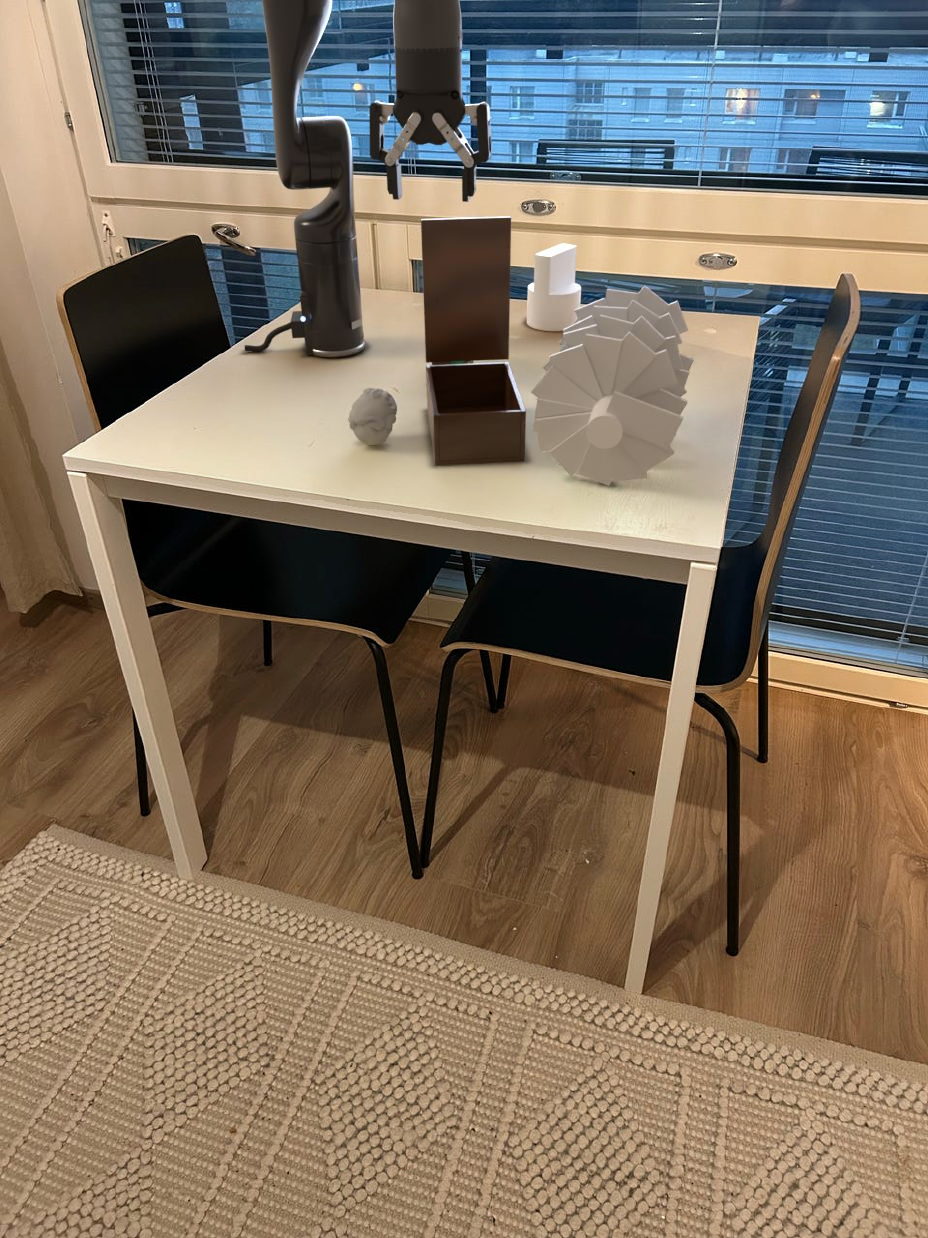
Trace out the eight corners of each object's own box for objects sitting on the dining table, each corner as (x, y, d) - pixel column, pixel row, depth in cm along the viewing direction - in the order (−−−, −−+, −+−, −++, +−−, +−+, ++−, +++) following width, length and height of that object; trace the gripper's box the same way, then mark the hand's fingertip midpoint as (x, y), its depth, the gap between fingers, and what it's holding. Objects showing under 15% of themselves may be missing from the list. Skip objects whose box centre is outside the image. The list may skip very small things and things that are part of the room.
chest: (524, 461, 116) (526, 411, 112) (434, 465, 115) (433, 415, 112) (507, 407, 130) (508, 361, 126) (427, 411, 129) (425, 364, 126)
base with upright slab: (544, 311, 166) (547, 240, 159) (588, 320, 161) (593, 247, 154) (516, 324, 160) (518, 251, 153) (561, 334, 155) (565, 259, 148)
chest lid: (511, 217, 115) (506, 209, 119) (421, 220, 115) (419, 211, 118) (508, 359, 126) (504, 347, 129) (425, 362, 125) (424, 351, 129)
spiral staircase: (560, 519, 112) (588, 426, 131) (704, 476, 104) (711, 384, 123) (496, 385, 103) (536, 306, 122) (648, 327, 96) (665, 253, 115)
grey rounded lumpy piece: (408, 437, 122) (406, 386, 118) (378, 457, 117) (374, 405, 113) (371, 428, 125) (367, 378, 121) (339, 447, 120) (334, 395, 116)
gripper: (357, 44, 101) (367, 204, 111) (486, 45, 99) (485, 207, 109) (373, 39, 107) (382, 191, 117) (495, 40, 106) (494, 194, 115)
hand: (432, 199), depth 113 cm, fingers open, 8 cm apart
